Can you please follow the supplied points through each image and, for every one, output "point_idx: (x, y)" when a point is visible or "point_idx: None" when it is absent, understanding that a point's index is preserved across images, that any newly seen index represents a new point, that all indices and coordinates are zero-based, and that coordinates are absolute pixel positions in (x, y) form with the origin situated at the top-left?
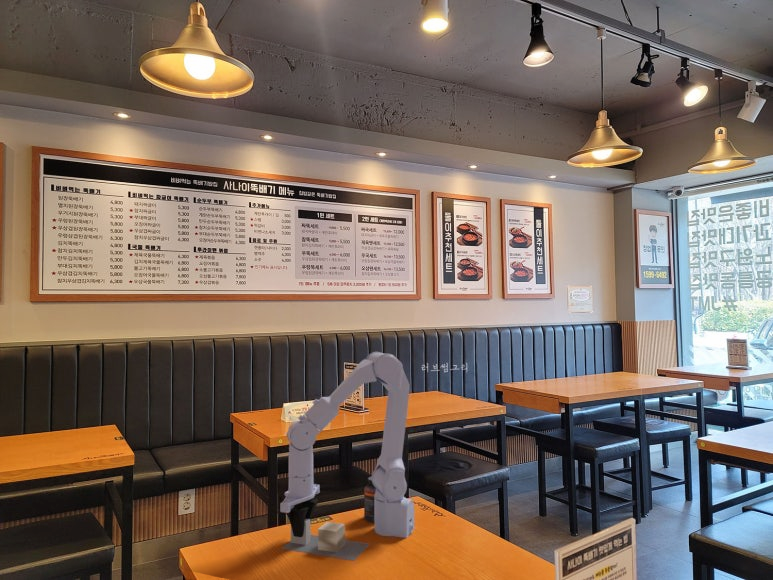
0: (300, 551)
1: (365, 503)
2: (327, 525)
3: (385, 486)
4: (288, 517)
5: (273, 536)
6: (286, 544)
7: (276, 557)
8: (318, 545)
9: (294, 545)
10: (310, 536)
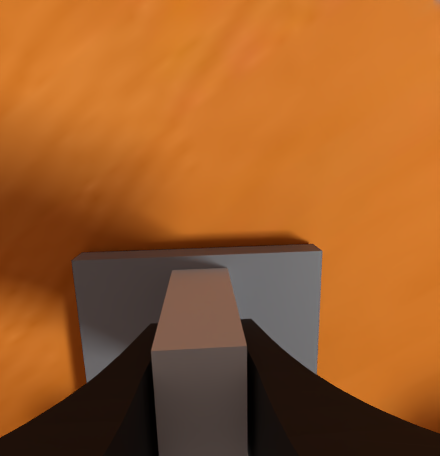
0: None
1: None
2: None
3: None
4: (42, 418)
5: (279, 58)
6: (134, 261)
7: (30, 258)
8: None
9: (142, 314)
10: (294, 328)
